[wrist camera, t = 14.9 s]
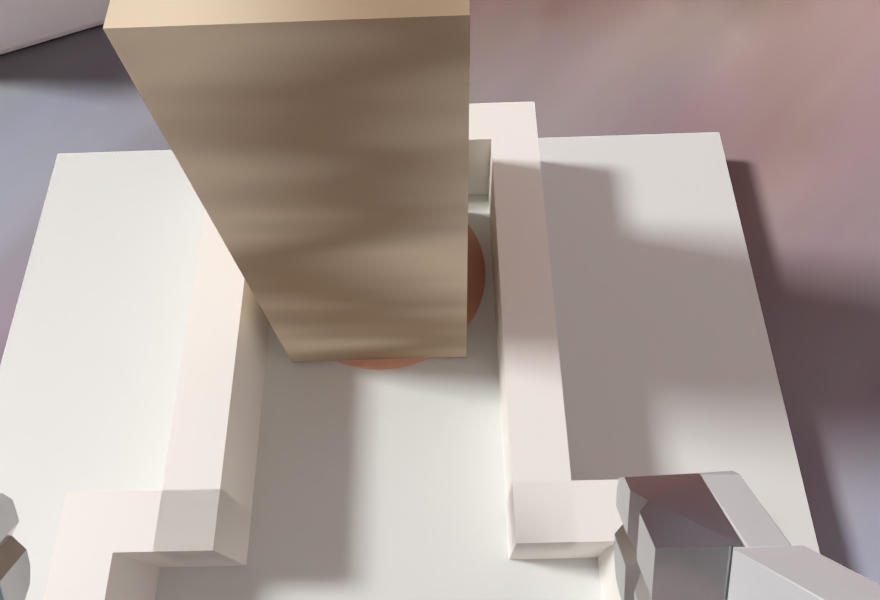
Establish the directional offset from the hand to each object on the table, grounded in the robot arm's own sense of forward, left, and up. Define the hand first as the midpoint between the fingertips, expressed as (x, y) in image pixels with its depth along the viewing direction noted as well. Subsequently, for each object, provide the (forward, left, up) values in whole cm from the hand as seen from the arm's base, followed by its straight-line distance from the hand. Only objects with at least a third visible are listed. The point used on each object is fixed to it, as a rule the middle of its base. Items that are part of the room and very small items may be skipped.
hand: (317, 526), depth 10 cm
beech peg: (0, +8, -7) cm, 11 cm away
